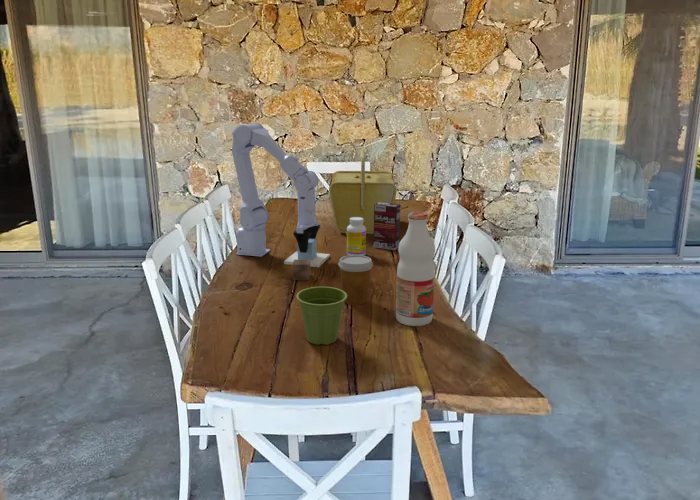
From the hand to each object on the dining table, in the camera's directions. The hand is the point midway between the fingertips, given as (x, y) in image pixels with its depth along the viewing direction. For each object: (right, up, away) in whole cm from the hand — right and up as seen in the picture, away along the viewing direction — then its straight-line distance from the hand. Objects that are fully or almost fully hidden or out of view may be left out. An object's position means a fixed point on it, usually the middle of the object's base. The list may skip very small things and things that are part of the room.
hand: (307, 249), depth 209 cm
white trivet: (0, -4, +1) cm, 4 cm away
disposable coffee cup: (+16, -15, -35) cm, 41 cm away
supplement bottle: (+16, -2, +8) cm, 18 cm away
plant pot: (+8, -22, -60) cm, 64 cm away
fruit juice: (+31, -18, -48) cm, 60 cm away
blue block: (0, -3, +1) cm, 3 cm away
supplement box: (+27, 0, +17) cm, 32 cm away
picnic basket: (+19, +9, +47) cm, 52 cm away
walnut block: (-1, -9, -16) cm, 18 cm away
